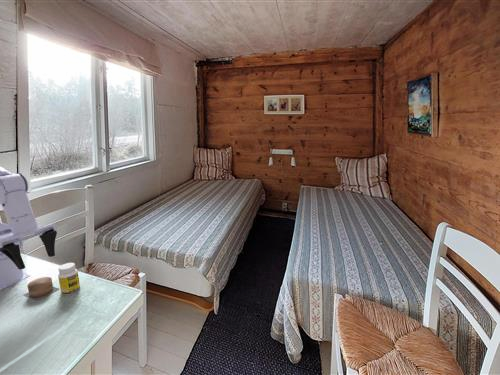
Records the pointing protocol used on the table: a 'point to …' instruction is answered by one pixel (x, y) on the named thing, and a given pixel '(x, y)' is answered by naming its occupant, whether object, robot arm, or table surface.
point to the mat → (42, 296)
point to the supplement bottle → (68, 279)
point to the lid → (40, 287)
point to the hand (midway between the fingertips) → (37, 262)
